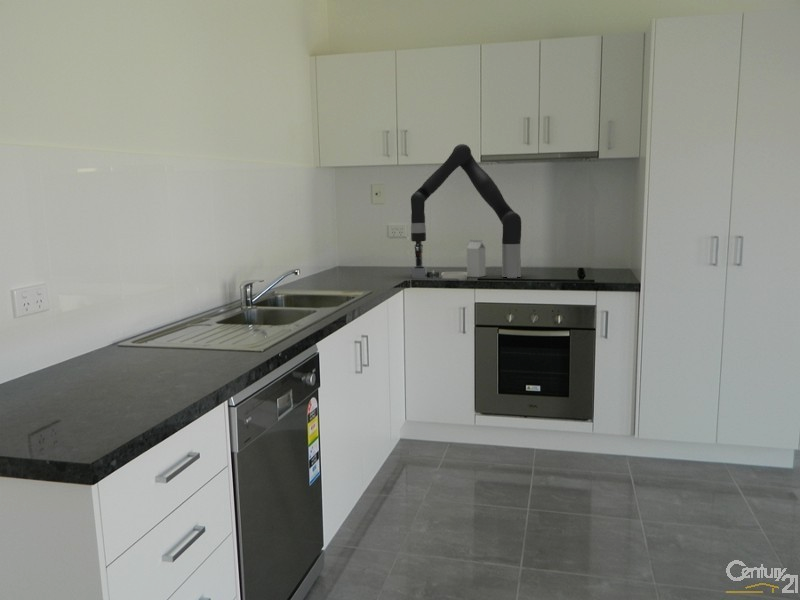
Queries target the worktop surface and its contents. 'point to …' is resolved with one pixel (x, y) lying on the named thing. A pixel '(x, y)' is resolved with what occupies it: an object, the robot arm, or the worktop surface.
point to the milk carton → (475, 259)
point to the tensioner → (424, 273)
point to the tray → (455, 275)
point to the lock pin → (421, 262)
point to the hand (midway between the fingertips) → (419, 265)
